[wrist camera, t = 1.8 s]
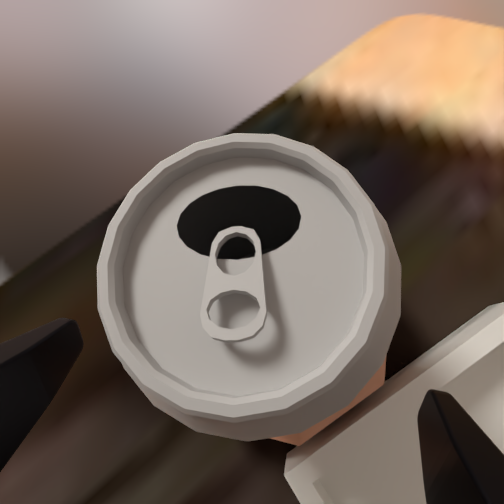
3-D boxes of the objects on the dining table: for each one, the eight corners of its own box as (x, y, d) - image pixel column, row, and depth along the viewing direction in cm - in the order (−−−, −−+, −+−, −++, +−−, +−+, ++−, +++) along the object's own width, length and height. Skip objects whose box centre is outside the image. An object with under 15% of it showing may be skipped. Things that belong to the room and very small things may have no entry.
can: (338, 248, 18) (396, 83, 7) (353, 390, 16) (473, 474, 5) (211, 256, 19) (86, 121, 8) (208, 391, 17) (29, 462, 6)
